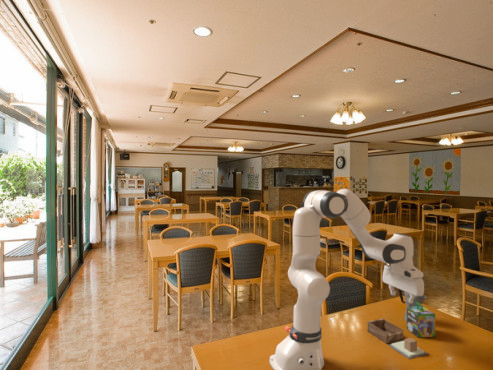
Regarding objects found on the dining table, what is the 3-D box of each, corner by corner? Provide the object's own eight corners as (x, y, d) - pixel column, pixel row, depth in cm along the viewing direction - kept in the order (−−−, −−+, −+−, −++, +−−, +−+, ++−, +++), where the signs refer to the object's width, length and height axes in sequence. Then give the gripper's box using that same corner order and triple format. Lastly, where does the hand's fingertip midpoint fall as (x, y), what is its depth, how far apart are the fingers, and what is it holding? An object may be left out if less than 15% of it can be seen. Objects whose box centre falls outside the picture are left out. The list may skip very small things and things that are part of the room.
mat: (409, 359, 124) (409, 358, 124) (388, 345, 134) (388, 344, 134) (428, 354, 128) (428, 353, 128) (406, 341, 138) (406, 340, 138)
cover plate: (409, 357, 125) (409, 345, 125) (391, 345, 134) (391, 334, 134) (424, 353, 128) (424, 342, 128) (405, 341, 137) (405, 331, 137)
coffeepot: (431, 323, 156) (431, 289, 156) (420, 327, 151) (420, 292, 151) (403, 312, 169) (403, 281, 169) (393, 315, 165) (393, 283, 165)
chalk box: (436, 337, 142) (436, 307, 142) (417, 338, 141) (418, 307, 141) (423, 328, 151) (423, 299, 151) (406, 328, 151) (406, 299, 150)
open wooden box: (386, 343, 136) (386, 332, 136) (367, 331, 147) (367, 321, 147) (402, 339, 140) (402, 329, 139) (383, 328, 151) (383, 318, 151)
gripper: (379, 263, 144) (378, 291, 144) (416, 275, 125) (415, 308, 125) (389, 262, 146) (389, 290, 146) (427, 274, 127) (426, 306, 127)
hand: (401, 298), depth 136 cm, fingers open, 8 cm apart
